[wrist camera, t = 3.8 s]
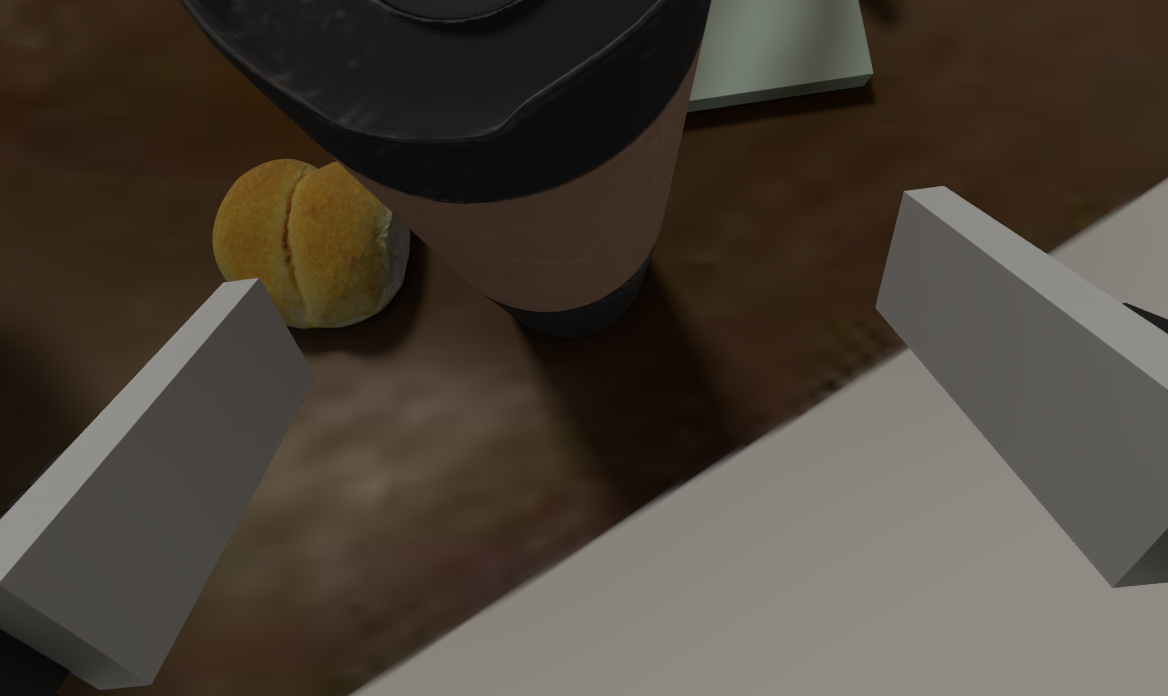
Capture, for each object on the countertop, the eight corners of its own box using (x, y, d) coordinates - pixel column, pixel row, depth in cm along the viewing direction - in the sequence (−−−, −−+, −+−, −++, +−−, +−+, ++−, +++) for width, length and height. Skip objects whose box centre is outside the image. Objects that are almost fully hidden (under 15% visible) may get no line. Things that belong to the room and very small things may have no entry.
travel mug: (575, 161, 27) (463, -538, 7) (682, 270, 26) (897, -184, 6) (460, 264, 27) (12, -164, 7) (564, 378, 26) (393, 266, 6)
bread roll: (253, 170, 28) (194, 130, 24) (421, 177, 28) (389, 137, 24) (230, 326, 27) (165, 312, 23) (404, 337, 27) (367, 324, 23)
